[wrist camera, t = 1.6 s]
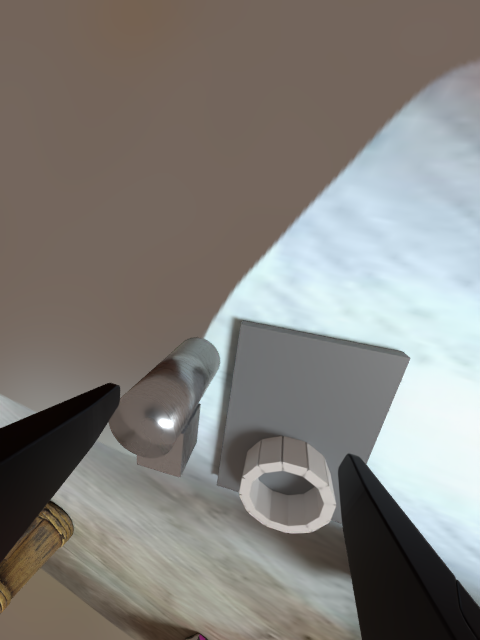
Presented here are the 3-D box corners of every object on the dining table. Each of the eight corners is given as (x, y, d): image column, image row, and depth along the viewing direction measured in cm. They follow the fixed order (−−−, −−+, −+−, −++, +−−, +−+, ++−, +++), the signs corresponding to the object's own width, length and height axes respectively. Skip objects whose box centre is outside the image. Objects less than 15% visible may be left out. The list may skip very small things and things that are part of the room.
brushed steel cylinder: (178, 333, 24) (106, 389, 14) (222, 342, 23) (177, 407, 14) (174, 405, 26) (112, 491, 17) (213, 415, 26) (170, 510, 16)
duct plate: (339, 511, 26) (348, 558, 22) (219, 475, 28) (208, 512, 24) (403, 351, 20) (431, 377, 16) (243, 320, 22) (233, 336, 18)
